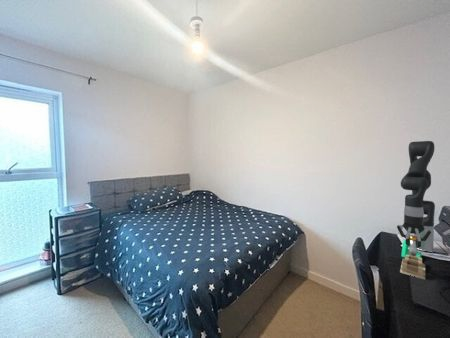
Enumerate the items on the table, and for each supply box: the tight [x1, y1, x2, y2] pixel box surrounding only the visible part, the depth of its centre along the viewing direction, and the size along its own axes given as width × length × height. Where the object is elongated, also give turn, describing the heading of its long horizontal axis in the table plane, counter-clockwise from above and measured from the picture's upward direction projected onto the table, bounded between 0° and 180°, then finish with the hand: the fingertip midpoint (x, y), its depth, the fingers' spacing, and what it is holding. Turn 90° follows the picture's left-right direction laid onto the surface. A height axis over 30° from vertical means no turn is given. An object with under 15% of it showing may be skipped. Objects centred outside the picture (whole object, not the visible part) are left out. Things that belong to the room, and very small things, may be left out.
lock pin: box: [408, 234, 418, 256], centre depth 107 cm, size 3×3×10 cm
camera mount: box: [400, 239, 422, 258], centre depth 125 cm, size 12×8×10 cm, turn 129°
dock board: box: [399, 255, 426, 280], centre depth 111 cm, size 18×10×5 cm, turn 135°
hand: (413, 246), depth 107 cm, fingers closed on lock pin, 3 cm apart
